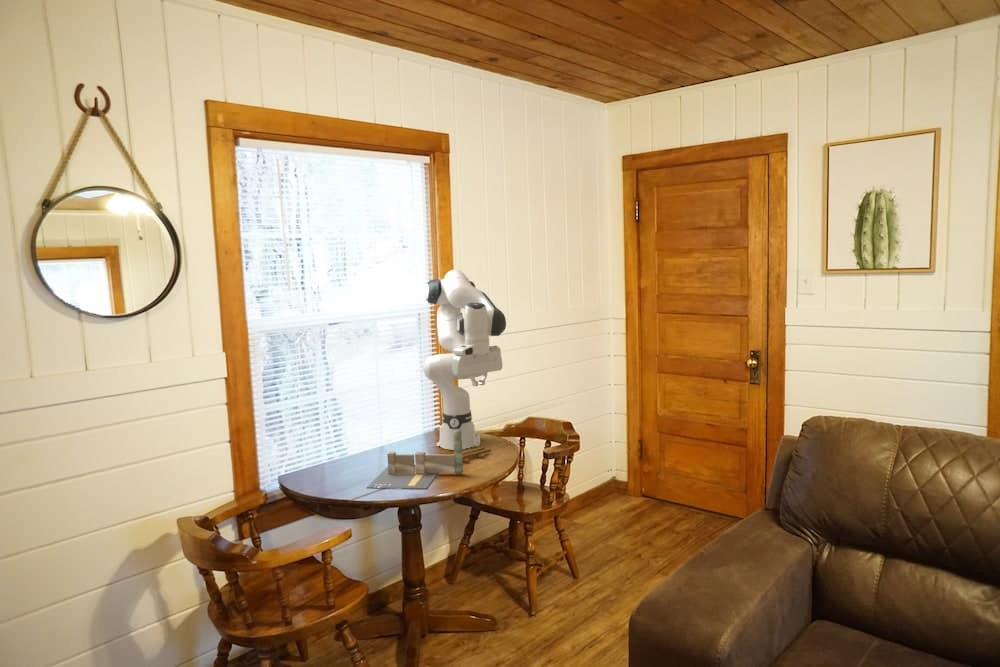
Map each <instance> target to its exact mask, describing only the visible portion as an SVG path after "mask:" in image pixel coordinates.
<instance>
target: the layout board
mask: <svg viewBox="0 0 1000 667" xmlns="http://www.w3.org/2000/svg"><path fill="white" fill-rule="evenodd" d="M438 474H439V473H424V474H416V464H415V473H395V474H388V466H386V467H385V469H383V471H382V472H380V473H379V475H378V476H377V477H375V479H374V480H372V481H371V482H370V483H369V484H368V485H367V486H366V489H367V488H374V487H375V486H376V487H375V488H377V487H378V486H381V487H380V488H402V489H401V490H428V488H429V486H430V485H431V484H432V483H433V481H434V480H435V478H436V477H437V476H438ZM375 484H377V485H378V486H377V485H375ZM379 484H382V485H383V486H382V485H379ZM384 484H386V485H384ZM389 484H391V485H390V486H388V485H389Z"/></svg>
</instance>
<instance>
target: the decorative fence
mask: <svg viewBox="0 0 1000 667" xmlns="http://www.w3.org/2000/svg"><path fill="white" fill-rule="evenodd" d="M490 452H492V448H486V447H484V446H480V447H476V448H473V449H470V450H466V451H462V456H463V463H466V464H470V459H469V458H470V457H471V458H472V457H474V456H477V457H476V458H478V457H482V458H481V459H485V458H486V455H485V454H486V453H490ZM484 457H485V458H484Z"/></svg>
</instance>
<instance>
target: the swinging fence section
mask: <svg viewBox="0 0 1000 667" xmlns="http://www.w3.org/2000/svg"><path fill="white" fill-rule="evenodd" d="M453 442H454V450H453V454H440V453H439V454H437V453H436V454H433V453H432V454H428V453H426V451H417V452H416V453H415V454H414V463H415V465H416V474H424V473H438V474H446V473H447V474H457V475H459V474H463V473H464V464H463V463H464V462H463V456H462V452H463V449H462V433H461V430H454V431H453Z"/></svg>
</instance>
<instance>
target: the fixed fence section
mask: <svg viewBox="0 0 1000 667" xmlns="http://www.w3.org/2000/svg"><path fill="white" fill-rule="evenodd" d="M386 454H387V467H388V474H395V473H415V465H416V463H415V454H414V453H413V454H408V453H406V454H403V453H402V454H397V452H396V451H389V452H388V453H386Z"/></svg>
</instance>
